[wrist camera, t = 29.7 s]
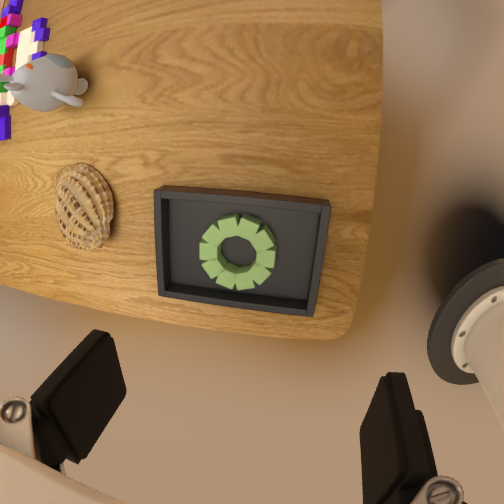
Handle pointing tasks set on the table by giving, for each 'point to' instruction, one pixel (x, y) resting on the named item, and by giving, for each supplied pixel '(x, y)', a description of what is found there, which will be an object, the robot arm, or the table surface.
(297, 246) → the tray
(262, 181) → the table surface
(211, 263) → the ring
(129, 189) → the table surface
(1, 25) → the building block set
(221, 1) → the table surface
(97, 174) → the seashell
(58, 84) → the toy figure
